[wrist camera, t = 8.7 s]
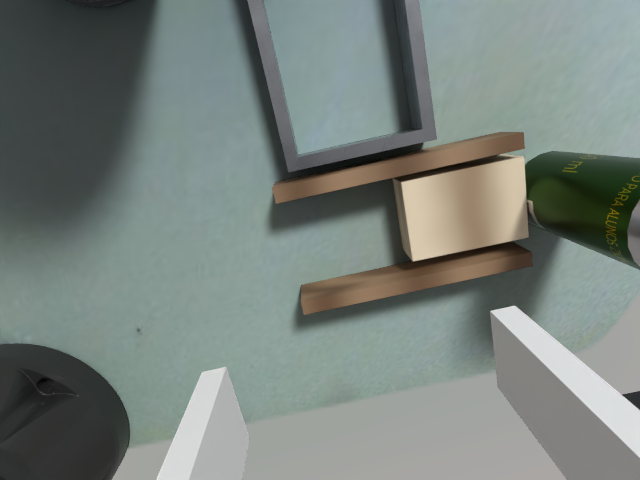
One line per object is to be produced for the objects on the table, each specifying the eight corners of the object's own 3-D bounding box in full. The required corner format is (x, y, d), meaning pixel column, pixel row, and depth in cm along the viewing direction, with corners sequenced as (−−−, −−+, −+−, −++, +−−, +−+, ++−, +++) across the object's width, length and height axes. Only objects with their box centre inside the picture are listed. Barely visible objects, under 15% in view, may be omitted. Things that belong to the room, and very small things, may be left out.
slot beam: (304, 296, 30) (303, 314, 27) (275, 182, 27) (272, 188, 24) (510, 252, 29) (532, 265, 27) (500, 132, 27) (523, 132, 24)
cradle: (425, 138, 27) (436, 139, 24) (289, 168, 27) (288, 172, 25) (393, -93, 23) (403, -118, 21) (237, -55, 23) (229, -76, 21)
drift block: (402, 248, 29) (412, 261, 27) (391, 177, 28) (401, 182, 25) (506, 226, 29) (528, 237, 26) (501, 153, 28) (524, 156, 25)
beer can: (532, 238, 29) (681, 310, 18) (492, 185, 28) (623, 224, 16) (593, 191, 28) (791, 233, 17) (554, 134, 27) (739, 137, 16)
